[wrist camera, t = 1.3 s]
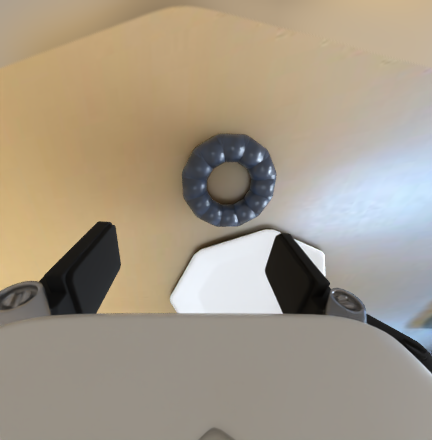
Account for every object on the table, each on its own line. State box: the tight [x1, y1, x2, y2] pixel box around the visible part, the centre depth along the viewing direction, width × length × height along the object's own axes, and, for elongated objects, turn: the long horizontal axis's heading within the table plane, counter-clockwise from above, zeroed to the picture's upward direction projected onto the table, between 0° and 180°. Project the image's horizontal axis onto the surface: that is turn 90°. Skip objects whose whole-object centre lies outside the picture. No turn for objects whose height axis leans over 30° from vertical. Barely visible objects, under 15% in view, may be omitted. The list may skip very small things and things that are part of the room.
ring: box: [182, 134, 276, 227], centre depth 23 cm, size 12×12×3 cm
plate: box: [170, 229, 325, 314], centre depth 34 cm, size 28×28×2 cm
